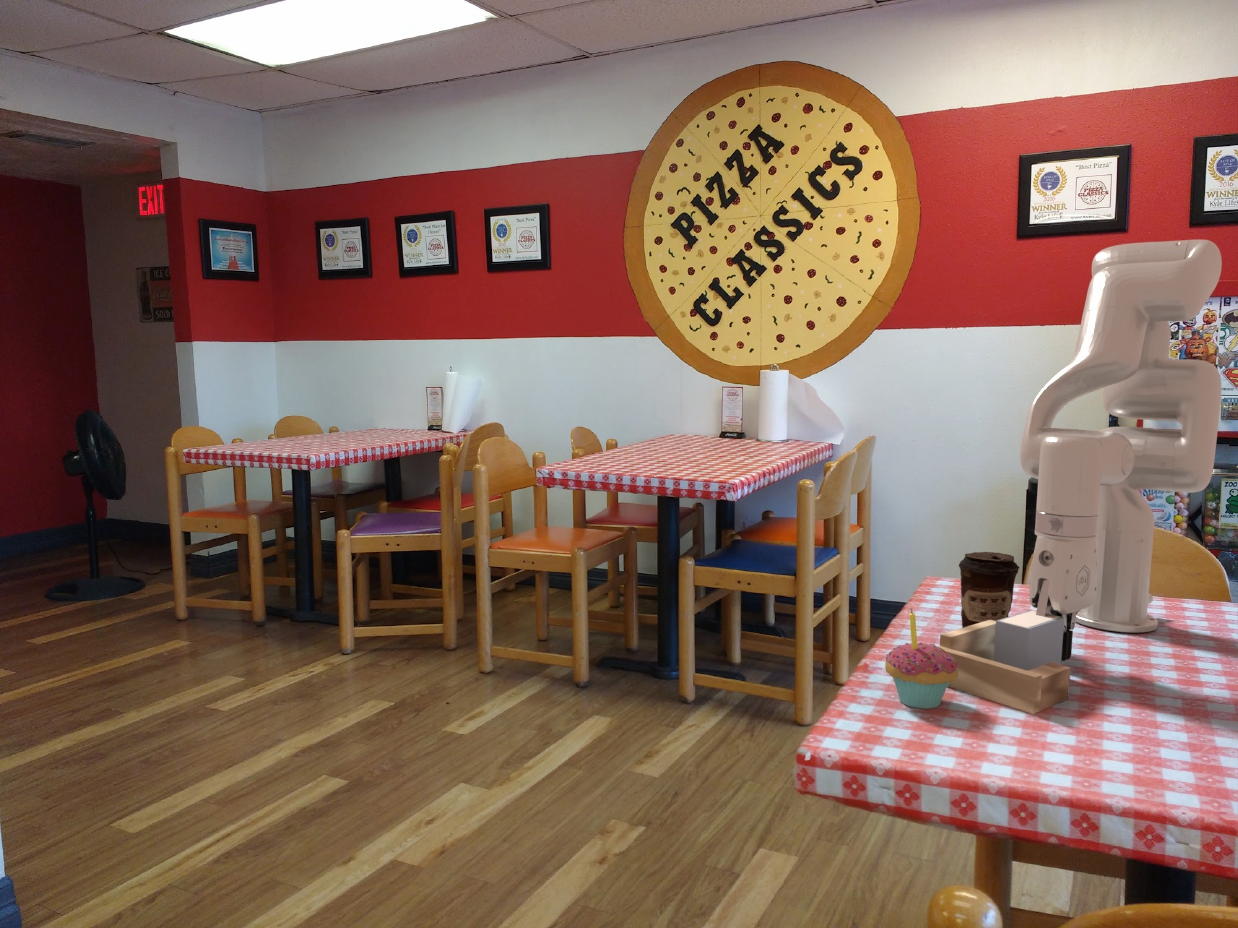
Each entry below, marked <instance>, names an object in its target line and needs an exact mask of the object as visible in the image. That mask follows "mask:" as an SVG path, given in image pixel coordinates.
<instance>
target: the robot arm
mask: <svg viewBox="0 0 1238 928" xmlns="http://www.w3.org/2000/svg"><path fill="white" fill-rule="evenodd" d="M1222 264H1223V262H1222V255H1221V251H1220V248H1219V247H1218V245H1216V243H1214V242H1213V241H1211V240H1208V239H1184V240H1181V239H1180V240H1170V241H1169V240H1167V241H1165V240H1164V241H1145V242H1133V243H1131V242H1130V243H1121V244H1118V245H1113V246H1109V247H1106V248H1104V249H1100V251H1098V252H1097V253H1096V254H1095V256H1094V257H1093V259H1092V263H1091V276H1092V277H1091V279H1090V282H1089V285H1088V287H1087V288H1088V289H1087V293H1086V298H1085V303H1084V307H1083V312H1082V317H1081V322H1080V326H1079V331H1078V335H1077V336H1078V337H1077V340H1076V345H1075V351H1074V355H1073V357H1072V359H1071V361H1070V363H1068V364H1067V365H1066V366H1064V367H1063V368H1061V369H1060V370H1059V371H1058V372H1056V374H1054V375H1053V376H1052V377H1051V378H1050V379H1049V380H1048V381H1047V382H1046V383H1045V384H1044V385H1043V386H1042V387H1041V389H1040V390H1039V391H1038V393H1037V394H1036V396H1035V397H1034V399H1033V400H1032V402H1031V403H1030V406H1029V408H1028V411H1027V417H1026V422H1025V425H1024V430H1023V433H1022V434H1023V435H1022V437H1021V438H1022V439H1021V445H1020V455H1019V457H1020V458H1019V459H1020V464H1021V467H1022V470H1023V472H1025V474H1027V475H1028V476H1029V477H1031V478H1033V479H1037V480H1038V481H1037V493H1036V494H1037V496H1036V508H1035V509H1036V510H1035V525H1034V526H1035V527H1034V535H1036V541H1035V544H1034V545H1035V546H1034V551H1033V556H1032V557H1033V558H1032V563H1031V573H1030V578H1029V579H1030V580H1029V582H1030V583H1029V604H1030V606H1031V607H1033V609H1036V611H1037V612H1036V615H1039V616H1043V617H1046V616H1049V615H1055V616H1060V617H1064V629H1063V643H1062V657H1061V662H1064V661H1065V662H1066V661H1068V660H1070V659H1071V658H1072V652H1073V651H1072V649H1073V637H1074V636H1073V635H1074V631H1073V630H1074V629H1075V627H1076V623H1077V624H1081V625H1083V626H1086V627H1089V628H1093V629H1098V630H1103V631H1109V632H1116V633H1117V632H1118V633H1119V632H1120V633H1128V634H1129V633H1133V634H1135V633H1139V634H1141V633H1149V632H1152V631H1155V630H1156V629H1158V624H1159V623H1158V620H1157V618H1155V617H1154V616H1153V615H1150V614H1148V608H1149V607H1148V606H1149V604H1151V603H1152V602H1153V600H1154V597H1153V595H1152V594H1151V593H1150V592H1149V591H1150V582H1151V570H1152V568H1151V566H1152V556H1153V543H1154V542H1153V541H1154V533H1155V532H1154V531H1155V515H1154V512H1153V510H1152V508H1151V506H1150V505H1149V503H1148V502H1147V501H1146V499H1145V497H1144V496H1143V495H1142V493H1141V492H1140V490H1145V491H1147V490H1151V491H1153V490H1154V491H1161V492H1172V493H1173V492H1174V493H1190V494H1191V493H1199V492H1201V491H1203V490H1205V489H1206V488H1207V487H1208V485H1209V483H1210V481H1211V480H1212V475H1213V472H1214V465H1215V457H1216V449H1217V447H1216V446H1217V439H1218V431H1219V422H1220V411H1221V405H1222V403H1221V402H1222V401H1221V400H1222V381H1221V380H1222V379H1221V375H1220V372H1219V370H1218V368H1217V367H1216V366H1215V365H1214V364H1212V363H1211V362H1209V361H1205V360H1201V359H1187V358H1186V359H1183V358H1182V359H1178V358H1177V359H1174V358H1171V359H1170V358H1169V357H1170V355H1169V354H1170V346H1171V345H1170V343H1171V336H1172V329H1171V325H1170V324H1169V322H1185V321H1186V322H1187V321H1191V320H1193V319H1195V317H1196V316H1198V315H1199V313H1200V312H1201V311H1202V309H1203V307H1205V304H1206V303H1207V302H1208V300H1209V298H1210V297H1211V295H1212V294H1213V292H1214V291H1215V289H1216V287H1217V285H1218V283H1219V280H1220V277H1221V273H1222V266H1223V265H1222ZM1100 389H1101V390H1103V391H1102V402H1103V403H1102V404H1103V407H1104V409H1105V411H1106V412H1107V413H1108V414H1109V415H1112V416H1114V417H1117V418H1123V419H1132V420H1133V419H1134V420H1148V421H1162V422H1163V421H1165V422H1166V421H1168V422H1177V423H1179V424H1181V426H1182V428H1181V429H1167V428H1162V429H1161V428H1153V427H1136V426H1110V427H1105V428H1101V429H1098V430H1089V429H1088V430H1087V429H1078V428H1077V429H1074V428H1061V427H1060V428H1059V427H1057V428H1056V427H1052V425H1053V422H1054V420H1055V418H1056V417H1057V415H1058V414H1059V413H1060V411H1061V410H1063V408H1064V407H1066V406H1068V405H1069V404H1070V403H1071V402H1073V401H1075V400H1076V399H1079V398H1080V397H1082V396H1085V395H1086V396H1087V395H1088V394H1090V393H1093V392H1096V391H1099V390H1100Z"/></svg>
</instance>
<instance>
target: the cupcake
mask: <svg viewBox="0 0 1238 928" xmlns="http://www.w3.org/2000/svg"><path fill="white" fill-rule="evenodd" d="M909 609H910V613H909V614H908V615H909V627H910V640H911V643H908V642H907V643H906V642H905V643H904V644H901V645H900V644H899V646H895V647H893V648H892V650H891V651H889V652H888V653H887V654H885V655H886V656H885V663H884V667H885V672H886V673H888V675H889V676H890V677H892V679H893V682H894V684H895V689H896V693H897V695H898V700H899V701H900V702H901V703H902V704H903V705H906V706H908V707H911V708H914V709H915V708H916V709H926V710H927V709H928V710H929V709H934V708H937V707H939V706H940V705H941V702H942V699H943V696H944V695H945V692H946V690H947V688H949V687H948V685H949V683H950V682H953V681H955V679H956V678H957V677H958V669H957V665H958V664H957V662H956V661H955V660H954V659H953V657H951V656H950V655H949V654H948V653H947V652H945V650H943V649H941V648H940V647H937V646H938V645H937V646H936V645H935V644H934V643H929V644H927V643H923V642H918V639H917V638H918V636H917V625H916V624H917V623H916V622H917V621H916V614H915V613H914V612H913V607H910V608H909Z"/></svg>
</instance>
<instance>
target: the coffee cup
mask: <svg viewBox="0 0 1238 928" xmlns="http://www.w3.org/2000/svg"><path fill="white" fill-rule="evenodd" d="M958 567H959V569H960V575H959V576H960V597H961V598H960V600H961V602H960V603H961V610H960V616H961V627H962V628H964V627H967V626H971V625H974V624H977V623H981V622H984V621H987V620H993V621H997V620H1000V619H1003V618H1007V617H1009V614H1010V612H1011V609H1012V604H1013V597H1014V586H1015V582H1016V581H1015V580H1016V577H1017V574H1018V573H1019V569H1020V566H1019V565H1018V564H1017V562H1015V556H1014V555H1011V554H1008V553H1007V554H1006V553H1001V552H993V551H979V552H977V551H973V552H971V553H970V552H969V553H965V554H964V558H963V559H962V560H960V562H959V563H958Z"/></svg>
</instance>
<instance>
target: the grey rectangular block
mask: <svg viewBox="0 0 1238 928" xmlns="http://www.w3.org/2000/svg"><path fill="white" fill-rule="evenodd" d="M1036 612H1037V610H1033V609H1030V610H1027V611H1023V612H1020V613H1017V614H1014V615H1011V616H1008V617H1007V618H1003V619H1000V620H997V621H996V629H995V645H994V661H995V662H999V663H1002V664H1006V665H1009V666H1013V667H1016V668H1020V669H1023V670H1027V671H1029V670H1031V669H1034V668H1037V667H1039V666H1042V665H1044V664H1047V663H1050V662H1052V663H1056V664H1059V665H1062V661H1061V657H1062V643H1063V629H1064V617H1060V616H1055V615H1049V616H1046V617H1043V616H1039V615H1036Z"/></svg>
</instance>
